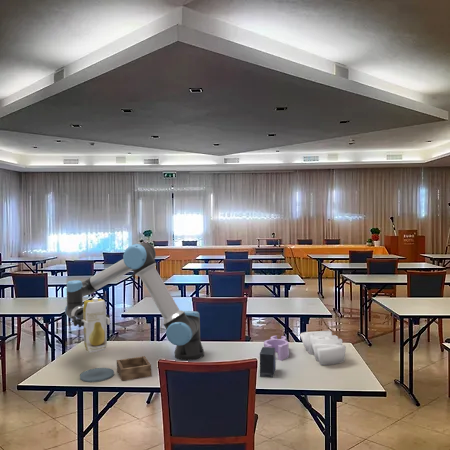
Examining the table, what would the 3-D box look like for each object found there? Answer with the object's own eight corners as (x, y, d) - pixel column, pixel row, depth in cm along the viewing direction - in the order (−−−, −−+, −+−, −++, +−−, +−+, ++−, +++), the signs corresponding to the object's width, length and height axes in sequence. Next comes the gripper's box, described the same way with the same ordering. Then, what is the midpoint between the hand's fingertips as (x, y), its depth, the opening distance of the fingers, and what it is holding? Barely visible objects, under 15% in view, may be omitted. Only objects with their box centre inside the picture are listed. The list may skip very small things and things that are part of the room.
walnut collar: (145, 366, 215) (144, 356, 215) (151, 376, 202) (151, 365, 202) (116, 370, 210) (116, 360, 210) (121, 380, 197) (121, 369, 197)
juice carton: (88, 353, 198) (86, 300, 197) (83, 349, 204) (81, 297, 204) (108, 349, 203) (107, 297, 202) (102, 345, 210) (101, 295, 209)
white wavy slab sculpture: (350, 367, 207) (350, 344, 206) (315, 369, 206) (315, 346, 205) (328, 345, 242) (327, 326, 241) (298, 346, 240) (298, 327, 240)
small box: (274, 377, 196) (273, 354, 196) (259, 377, 197) (259, 353, 197) (276, 369, 206) (275, 347, 206) (262, 368, 208) (261, 346, 207)
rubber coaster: (111, 368, 214) (111, 365, 214) (116, 378, 200) (116, 376, 200) (79, 373, 208) (79, 370, 208) (81, 384, 194) (81, 381, 194)
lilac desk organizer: (268, 347, 240) (267, 335, 240) (291, 349, 237) (290, 336, 237) (261, 359, 221) (261, 346, 221) (287, 361, 218) (286, 347, 218)
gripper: (103, 318, 224) (121, 327, 207) (58, 326, 211) (74, 336, 193) (103, 304, 224) (121, 311, 206) (58, 310, 211) (73, 318, 193)
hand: (98, 323), depth 200 cm, fingers closed on juice carton, 9 cm apart
